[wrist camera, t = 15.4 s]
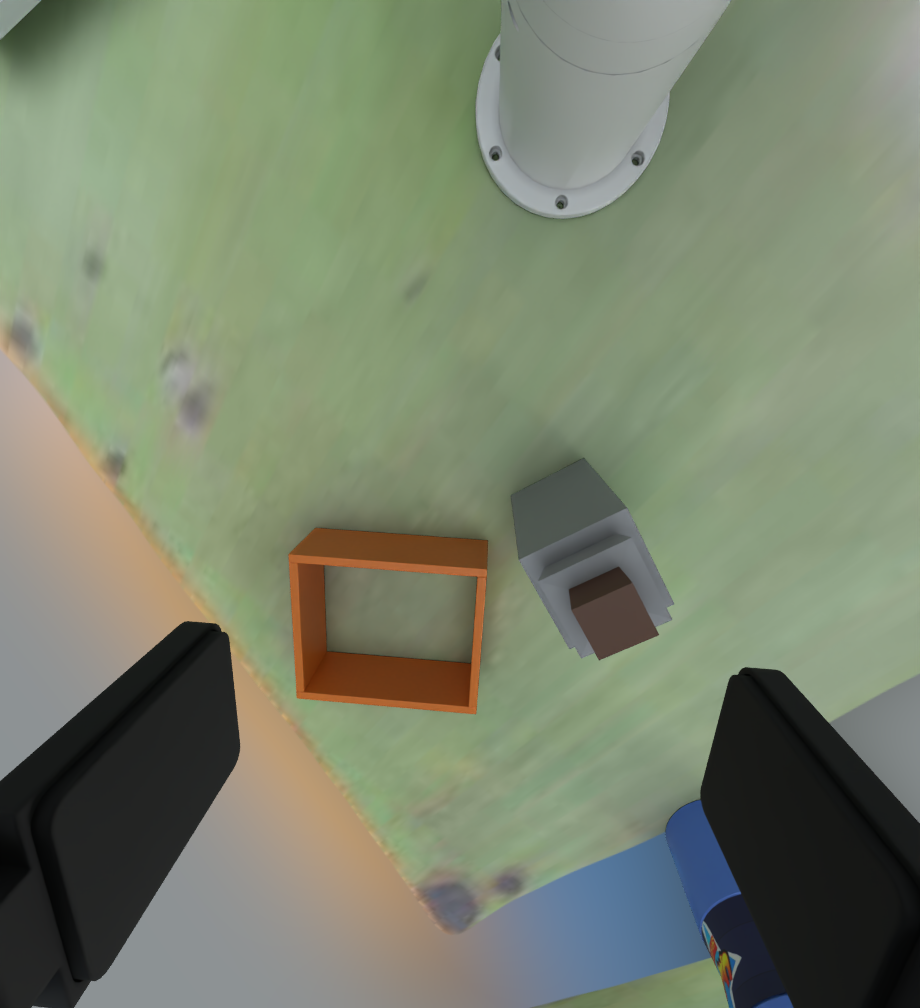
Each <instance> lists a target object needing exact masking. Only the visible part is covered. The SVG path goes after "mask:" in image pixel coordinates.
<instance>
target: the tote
mask: <svg viewBox="0 0 920 1008" xmlns="http://www.w3.org/2000/svg"><path fill="white" fill-rule="evenodd" d="M487 557H488V540H475V539H461V538H448V537H434V536H420V535H406V534H393V533H379V532H365V531H351V530H338V529H324V528H315V529H314V530H313V531H312V532H311V533H310V534H309V535H308V536H307V537H306V538H305V539H304V540H303V541H301V542H300V543H299V544H298V545H297V546H296V547H295V548H294V549H293V550H292V551H291V552H290V553H289V570H290V587H291V604H292V622H293V639H294V656H295V673H296V691H297V692H296V693H297V698H299V699H310V700H322V701H333V702H344V703H355V704H367V705H378V706H389V707H400V708H412V709H423V710H434V711H445V712H457V713H468V714H476V710H477V697H478V684H479V671H480V658H481V644H482V631H483V618H484V605H485V592H486V579H487ZM324 565H331V566H344V567H357V568H370V569H383V570H396V571H410V572H423V573H436V574H449V575H462V576H475V577H477V590H476V604H475V618H474V633H473V647H472V662H471V664H470V663H458V662H446V661H434V660H423V659H411V658H399V657H387V656H375V655H363V654H351V653H340V652H328V651H327V644H326V615H325V586H324Z"/></svg>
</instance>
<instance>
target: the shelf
mask: <svg viewBox="0 0 920 1008" xmlns="http://www.w3.org/2000/svg"><path fill="white" fill-rule="evenodd" d="M40 1H41V0H0V40H1V39H2V38H3V37H4V36H5V35H6V34H7V33H8V32H9V31H10V30H11V29H12V28H13V27H14V26H15V25H16V24H17V23H18V22H19V21H20V20H21V19H22V18H24V17H25V16H26V15H27V14H28V13H29V12H30V11H31V10H32V9H33V8H34V7H35V6H36V5H37V4H38V3H39V2H40Z"/></svg>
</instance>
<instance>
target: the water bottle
mask: <svg viewBox="0 0 920 1008" xmlns="http://www.w3.org/2000/svg"><path fill="white" fill-rule="evenodd" d="M666 840H667V842H668V845H669V848H670V851H671V854H672V857H673V859H674V862H675V865H676V868H677V871H678V874H679V876H680V879H681V882H682V885H683V887H684V890H685V893H686V896H687V899H688V901H689V904H690V907H691V910H692V913H693V915H694V918H695V921H696V923H697V926H698V929H699V932H700V935H701V937H702V940H703V941H704V943H705V945H706V947H707V949H708V951H709V953H710V955H711V957H712V959H713V961H714V963H715V965H716V968H717V970H718V972H719V974H720V976H721V978H722V982H723V986H724V990H725V993H726V997H727V1001H728V1004H729V1008H793V1006H792V1003H791V1001H790V999H789V997H788V995H787V992H786V990H785V988H784V986H783V984H782V982H781V979H780V977H779V975H778V973H777V971H776V968H775V966H774V964H773V962H772V960H771V958H770V955H769V953H768V951H767V949H766V947H765V944H764V942H763V940H762V938H761V936H760V934H759V931H758V929H757V927H756V925H755V923H754V921H753V918H752V916H751V914H750V912H749V910H748V907H747V905H746V903H745V901H744V899H743V897H742V894H741V892H740V890H739V888H738V886H737V883H736V881H735V879H734V877H733V875H732V873H731V870H730V868H729V866H728V864H727V862H726V859H725V857H724V855H723V853H722V851H721V849H720V846H719V844H718V842H717V840H716V838H715V835H714V833H713V831H712V829H711V827H710V825H709V822H708V820H707V818H706V816H705V814H704V811H703V808H702V804H701V800H698V801H694V802H692V803H689V804H687V805H685V806H683V807H682V808H680V809H679V810H678V811H677V812H675V813H674V814H673V816H672V817H671V818H670V820H669V822H668V824H667V827H666Z"/></svg>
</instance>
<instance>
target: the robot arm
mask: <svg viewBox="0 0 920 1008" xmlns="http://www.w3.org/2000/svg"><path fill="white" fill-rule="evenodd" d="M730 2H731V0H501V33H500V34H499V36H498V37H497V38H496V40H495V41H494V43H493V45H492V47H491V49H490V51H489V54H488V56H487V58H486V60H485V62H484V65H483V69H482V72H481V76H480V79H479V82H478V89H477V97H476V129H477V137H478V143H479V146H480V150H481V153H482V157H483V160H484V162H485V164H486V167H487V169H488V171H489V173H490V175H491V177H492V178H493V180H494V181H495V182H496V184H497V185H498V186H499V188H500V189H501V190H502V192H503V193H504V194H505V195H507V196H508V197H509V198H510V199H511V200H512V201H513V202H514V203H515V204H517V205H519V206H521V207H522V208H524V209H526V210H527V211H529V212H531V213H535V214H538V215H541V216H544V217H549V218H559V219H566V218H574V217H581V216H584V215H587V214H590V213H593V212H596V211H598V210H600V209H602V208H604V207H605V206H607V205H609V204H611V203H612V202H614V201H615V200H616V199H617V198H619V197H620V196H621V195H622V194H623V193H625V192H626V191H627V190H628V189H629V188H630V187H631V186H632V184H633V183H634V182H635V181H636V180H637V179H638V178H639V176H640V175H641V174H642V172H643V171H644V170H645V168H646V167H647V166H648V164H649V163H650V161H651V159H652V157H653V155H654V153H655V151H656V149H657V147H658V145H659V143H660V140H661V137H662V133H663V130H664V127H665V124H666V120H667V113H668V107H669V100H670V90H671V89H672V87H673V86H674V84H675V83H676V81H677V80H678V79H679V77H680V76H681V74H682V73H683V71H684V70H685V68H686V67H687V65H688V64H689V62H690V61H691V60H692V58H693V57H694V55H695V54H696V52H697V51H698V49H699V48H700V46H701V45H702V44H703V42H704V41H705V39H706V38H707V36H708V35H709V33H710V32H711V30H712V29H713V27H714V26H715V24H716V23H717V21H718V20H719V18H720V17H721V15H722V14H723V12H724V11H725V9H726V8H727V6H728V5H729V3H730ZM499 58H500V61H498V59H499ZM495 154H497V155H498V156H499V159H498V160H497V161H494V160H493V159H492V156H493V155H495ZM634 159H635V160H637V161H638V165H637V166H635V165H633V163H632V160H634ZM558 202H562V203H563V205H564V207H563V208H562V209H559V208H558V207H557V203H558ZM237 720H238V719H237V710H236V700H235V690H234V681H233V671H232V662H231V652H230V642H229V637H228V635H227V633H225V632H221V628H220V627H219V625H217V624H214V623H202V622H189V621H187V622H184V623H182V624H180V625H179V626H178V627H177V628H175V629H174V630H173V631H172V632H171V633H170V634H169V635H167V636H166V637H165V638H164V639H163V640H162V641H160V643H158V644H157V645H156V646H155V647H154V648H153V649H152V650H150V651H149V652H148V653H147V654H146V655H145V656H143V657H142V658H141V659H140V660H139V661H138V662H136V663H135V664H134V665H133V666H132V667H131V668H130V669H128V670H127V671H126V672H125V673H124V674H123V675H121V676H120V677H119V678H118V679H117V680H116V681H115V682H113V683H112V684H111V685H110V686H109V687H108V688H107V689H106V690H104V691H103V692H102V693H101V694H100V695H99V696H97V697H96V698H95V699H94V700H93V701H92V702H91V703H89V704H88V705H87V706H86V707H85V708H84V709H82V710H81V711H80V712H79V713H78V714H77V715H76V716H75V717H73V718H72V719H71V720H70V721H69V722H68V723H66V724H65V725H64V726H63V727H62V728H61V729H60V730H58V731H57V732H56V733H55V734H54V735H53V736H52V737H50V738H49V739H48V740H47V741H46V742H45V743H43V744H42V745H41V746H40V747H39V748H38V749H37V750H35V751H34V752H33V753H32V754H31V755H30V756H29V757H27V758H26V759H25V760H24V761H23V762H22V763H20V764H19V765H18V766H17V767H16V768H15V769H14V770H13V771H11V772H10V773H9V774H8V775H7V776H6V777H4V778H3V779H2V780H1V781H0V1008H31V1007H32V1006H38V1007H47V1008H74V1007H75V1005H76V1004H77V1002H78V1000H79V999H80V997H81V996H82V994H83V993H84V991H85V990H86V988H87V986H88V985H89V983H90V982H91V981H96V980H98V979H100V978H101V977H102V976H103V975H104V974H105V973H106V972H107V970H108V969H109V968H110V966H111V965H112V963H113V962H114V960H115V958H116V956H117V955H118V953H119V952H120V950H121V949H122V947H123V945H124V944H125V942H126V941H127V938H128V937H129V936H130V934H131V933H132V931H133V929H134V928H135V926H136V924H137V923H138V921H139V920H140V918H141V917H142V915H143V913H144V912H145V910H146V908H147V907H148V905H149V903H150V902H151V900H152V899H153V897H154V896H155V894H156V892H157V891H158V889H159V888H160V886H161V884H162V883H163V881H164V880H165V878H166V876H167V875H168V873H169V871H170V870H171V868H172V867H173V865H174V863H175V862H176V860H177V859H178V857H179V855H180V854H181V852H182V851H183V849H184V847H185V846H186V844H187V843H188V841H189V839H190V838H191V836H192V834H193V833H194V831H195V830H196V828H197V826H198V825H199V823H200V822H201V820H202V818H203V817H204V815H205V814H206V812H207V810H208V809H209V807H210V806H211V804H212V802H213V801H214V799H215V797H216V796H217V794H218V792H219V791H220V790H221V788H222V786H223V784H224V783H225V781H226V780H227V778H228V777H229V775H230V773H231V772H232V770H233V769H234V767H235V765H236V762H237V760H238V756H239V752H240V739H239V730H238V721H237ZM701 804H702V808H703V811H704V814H705V816H706V818H707V820H708V822H709V825H710V827H711V829H712V831H713V833H714V835H715V838H716V840H717V842H718V844H719V846H720V849H721V851H722V853H723V855H724V857H725V859H726V862H727V864H728V866H729V868H730V870H731V873H732V875H733V877H734V879H735V881H736V883H737V886H738V888H739V890H740V892H741V894H742V897H743V899H744V901H745V903H746V905H747V907H748V910H749V912H750V914H751V916H752V918H753V921H754V923H755V925H756V927H757V929H758V931H759V934H760V936H761V938H762V940H763V942H764V944H765V947H766V949H767V951H768V953H769V955H770V958H771V960H772V962H773V964H774V966H775V968H776V971H777V973H778V975H779V977H780V979H781V982H782V984H783V986H784V988H785V990H786V992H787V995H788V997H789V999H790V1001H791V1003H792V1006H793V1008H920V823H919V822H918V821H917V820H916V819H915V818H914V817H913V816H912V815H911V813H910V812H909V811H908V810H907V809H906V808H905V807H904V806H903V804H901V802H900V801H899V800H898V799H897V798H896V797H895V796H894V795H893V793H892V792H891V791H890V790H889V789H888V788H887V787H886V786H885V785H884V784H883V782H882V781H881V780H880V779H879V778H878V777H877V776H876V775H875V774H874V772H873V771H872V770H871V769H870V768H869V767H868V766H867V765H866V764H865V763H864V762H863V760H862V759H861V758H860V757H859V756H858V755H857V754H856V753H855V751H854V750H853V749H852V748H851V747H850V746H849V745H848V744H847V743H846V742H845V740H844V739H843V738H842V737H841V736H840V735H839V734H838V733H837V732H836V730H835V729H834V728H833V727H832V726H831V725H830V724H829V723H828V722H827V721H826V719H825V718H824V717H823V716H822V715H821V714H820V713H819V712H818V711H817V710H816V708H815V707H814V706H813V705H812V704H811V703H810V702H809V701H808V700H807V698H806V697H805V696H804V695H803V694H802V693H801V692H800V691H799V690H798V689H797V687H796V686H795V685H794V684H793V683H792V682H791V681H790V680H789V679H788V677H787V676H786V675H785V674H783V673H782V672H781V671H778V670H772V669H760V668H748V667H745V668H742V669H741V670H740V672H739V674H738V675H732V676H731V677H730V679H729V682H728V686H727V689H726V693H725V697H724V701H723V705H722V709H721V713H720V716H719V720H718V724H717V728H716V732H715V736H714V740H713V743H712V747H711V751H710V755H709V759H708V763H707V767H706V770H705V774H704V778H703V782H702V786H701Z"/></svg>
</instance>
